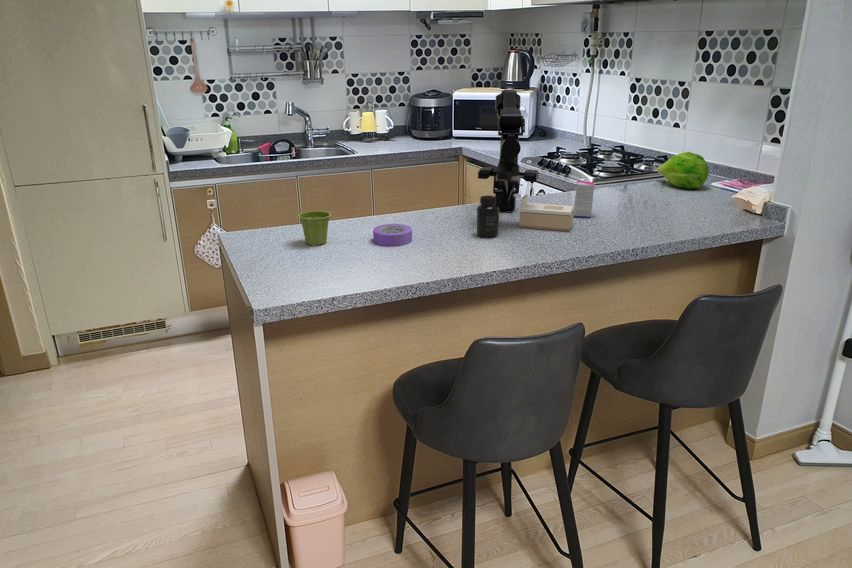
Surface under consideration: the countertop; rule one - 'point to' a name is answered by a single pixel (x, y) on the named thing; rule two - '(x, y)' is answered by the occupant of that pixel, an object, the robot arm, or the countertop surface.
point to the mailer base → (546, 221)
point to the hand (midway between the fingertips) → (507, 200)
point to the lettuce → (685, 170)
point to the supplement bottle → (487, 217)
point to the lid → (544, 208)
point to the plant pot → (315, 226)
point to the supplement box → (583, 199)
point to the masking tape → (392, 235)
